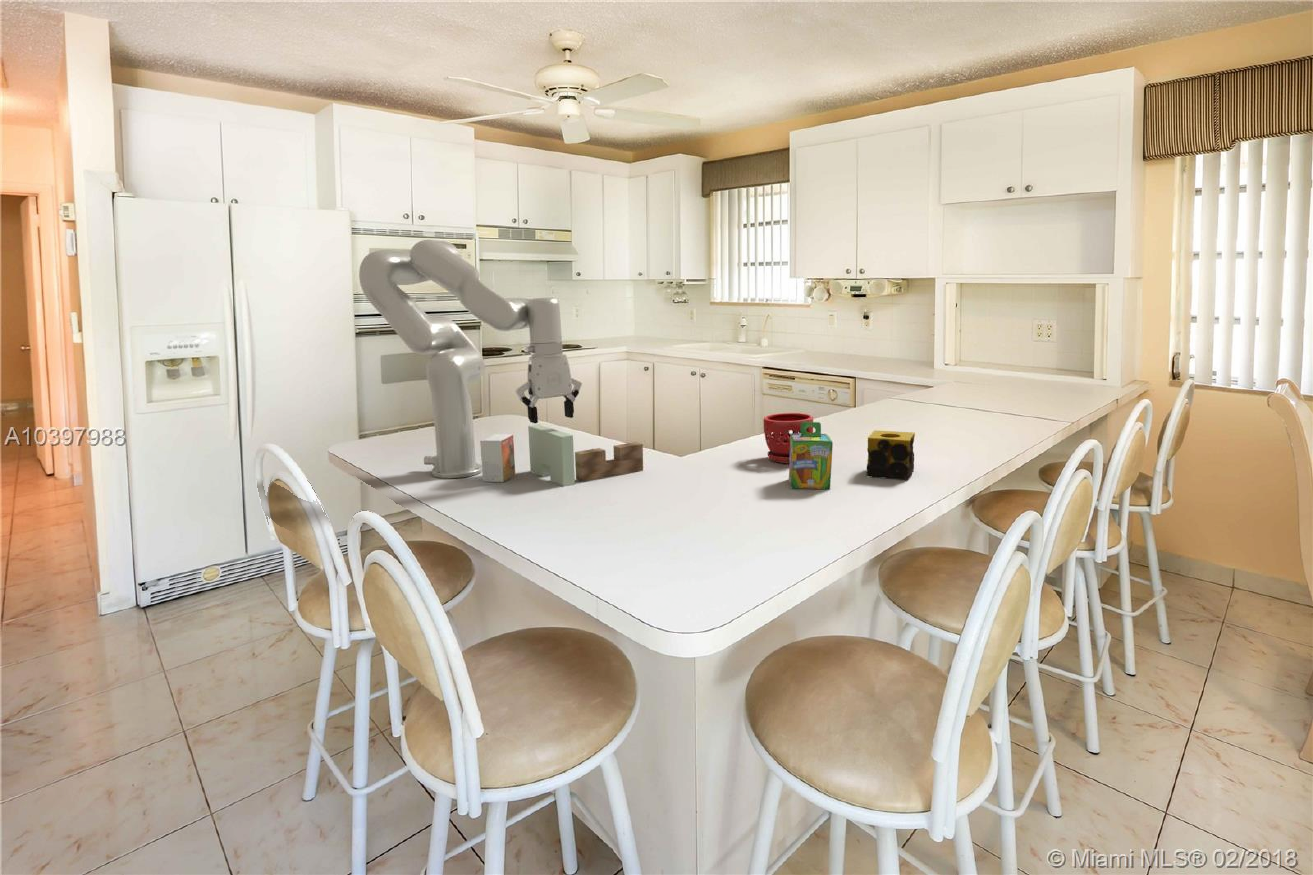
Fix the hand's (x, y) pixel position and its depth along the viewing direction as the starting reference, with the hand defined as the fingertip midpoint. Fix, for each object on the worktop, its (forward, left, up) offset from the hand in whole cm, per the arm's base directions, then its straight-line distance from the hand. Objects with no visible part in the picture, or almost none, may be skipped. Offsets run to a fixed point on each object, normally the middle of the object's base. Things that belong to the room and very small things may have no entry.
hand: (551, 419), depth 181 cm
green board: (-1, 0, -15) cm, 15 cm away
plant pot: (+57, +25, -15) cm, 64 cm away
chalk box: (+62, +1, -15) cm, 64 cm away
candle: (+82, +13, -15) cm, 85 cm away
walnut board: (+13, +4, -15) cm, 20 cm away
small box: (-14, -2, -15) cm, 20 cm away
